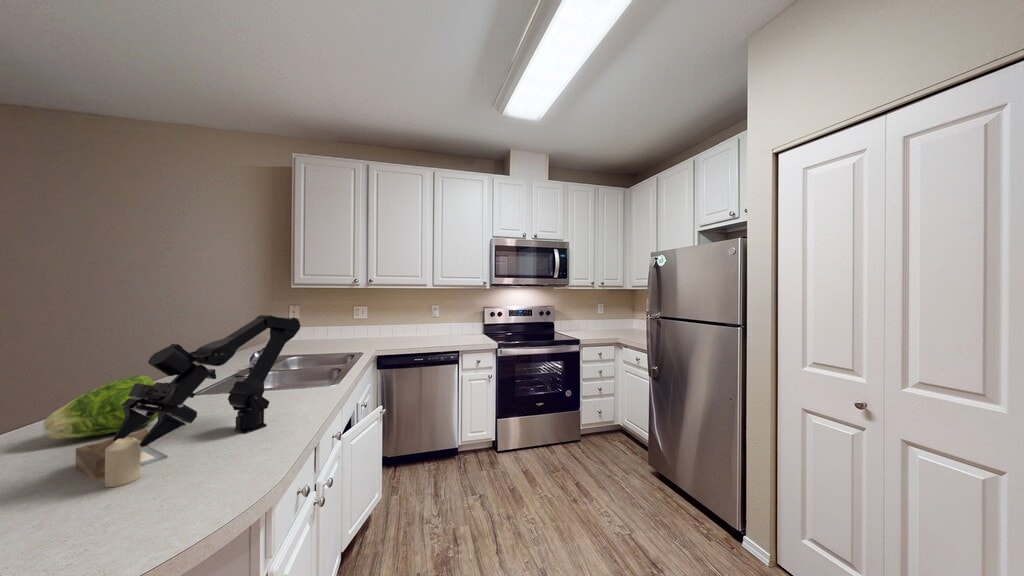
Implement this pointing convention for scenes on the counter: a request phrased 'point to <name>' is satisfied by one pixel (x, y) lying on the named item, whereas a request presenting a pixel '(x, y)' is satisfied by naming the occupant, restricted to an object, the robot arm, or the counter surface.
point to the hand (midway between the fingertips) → (128, 443)
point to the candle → (122, 462)
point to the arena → (93, 456)
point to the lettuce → (94, 411)
